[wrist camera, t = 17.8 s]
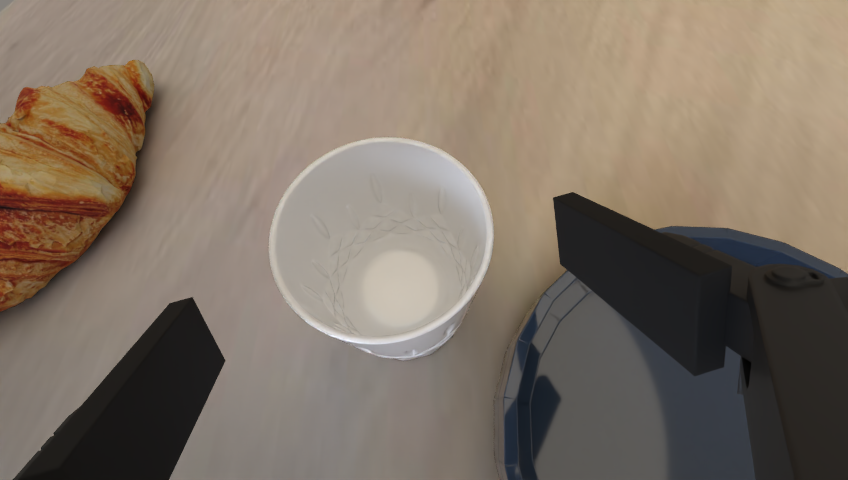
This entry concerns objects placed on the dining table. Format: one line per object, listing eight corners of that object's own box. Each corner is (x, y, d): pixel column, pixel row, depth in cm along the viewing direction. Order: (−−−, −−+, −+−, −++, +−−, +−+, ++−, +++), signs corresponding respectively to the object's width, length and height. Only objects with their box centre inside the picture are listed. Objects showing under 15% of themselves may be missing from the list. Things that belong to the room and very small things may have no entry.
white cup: (476, 372, 21) (502, 343, 12) (331, 371, 22) (249, 344, 13) (471, 237, 24) (487, 133, 15) (343, 239, 25) (284, 138, 16)
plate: (413, 421, 21) (407, 423, 17) (648, 195, 25) (683, 158, 21) (770, 872, 14) (884, 1032, 11) (999, 461, 19) (1135, 474, 15)
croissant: (155, 108, 34) (45, 26, 28) (218, 85, 28) (97, -23, 23) (-22, 352, 26) (-229, 308, 20) (17, 387, 20) (-253, 342, 14)
